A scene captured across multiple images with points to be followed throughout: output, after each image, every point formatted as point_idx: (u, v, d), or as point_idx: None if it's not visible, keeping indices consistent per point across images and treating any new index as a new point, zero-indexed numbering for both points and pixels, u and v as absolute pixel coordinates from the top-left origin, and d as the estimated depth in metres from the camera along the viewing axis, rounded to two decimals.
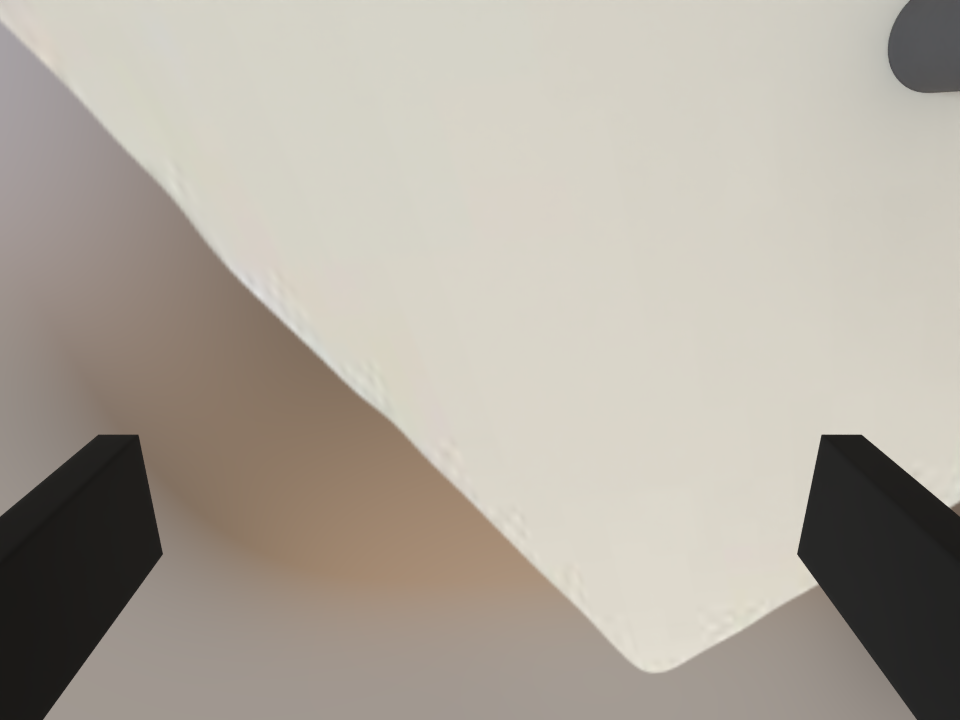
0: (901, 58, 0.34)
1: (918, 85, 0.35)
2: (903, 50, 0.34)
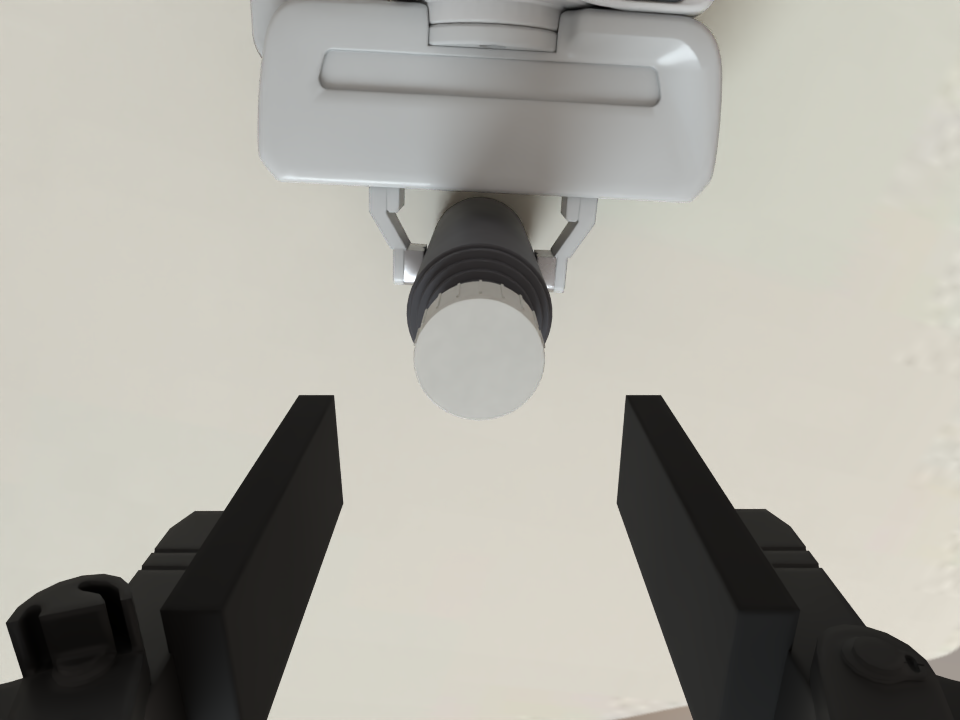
0: None
1: None
2: None
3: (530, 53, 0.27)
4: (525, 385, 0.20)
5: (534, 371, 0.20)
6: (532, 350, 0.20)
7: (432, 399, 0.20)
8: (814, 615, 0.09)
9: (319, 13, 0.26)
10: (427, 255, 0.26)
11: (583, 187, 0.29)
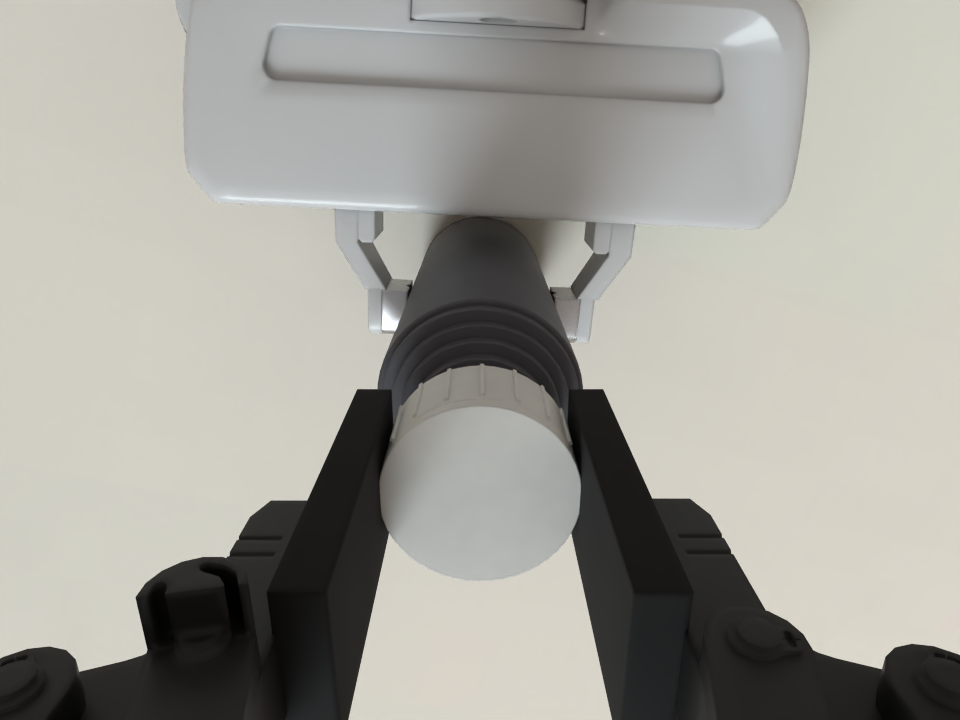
0: None
1: None
2: None
3: (548, 30, 0.20)
4: (551, 532, 0.13)
5: (565, 512, 0.13)
6: (563, 482, 0.13)
7: (408, 552, 0.13)
8: (717, 598, 0.09)
9: None
10: (408, 307, 0.19)
11: (617, 210, 0.22)
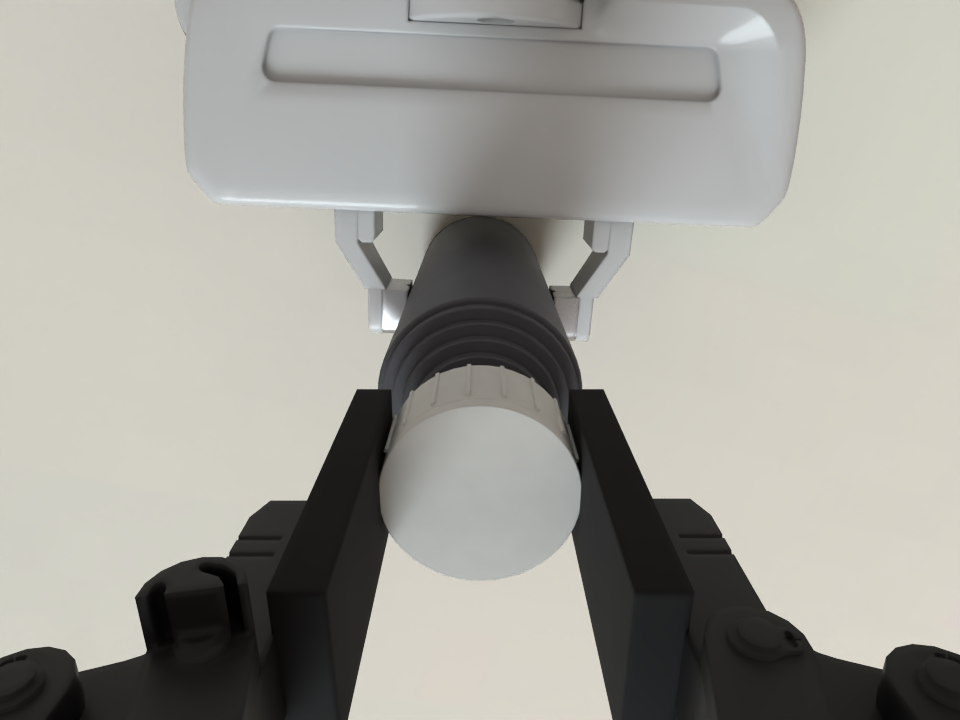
0: None
1: None
2: None
3: (546, 30, 0.20)
4: (497, 424, 0.12)
5: (469, 418, 0.12)
6: (436, 432, 0.12)
7: (562, 541, 0.13)
8: (717, 598, 0.09)
9: None
10: (408, 306, 0.19)
11: (616, 209, 0.22)
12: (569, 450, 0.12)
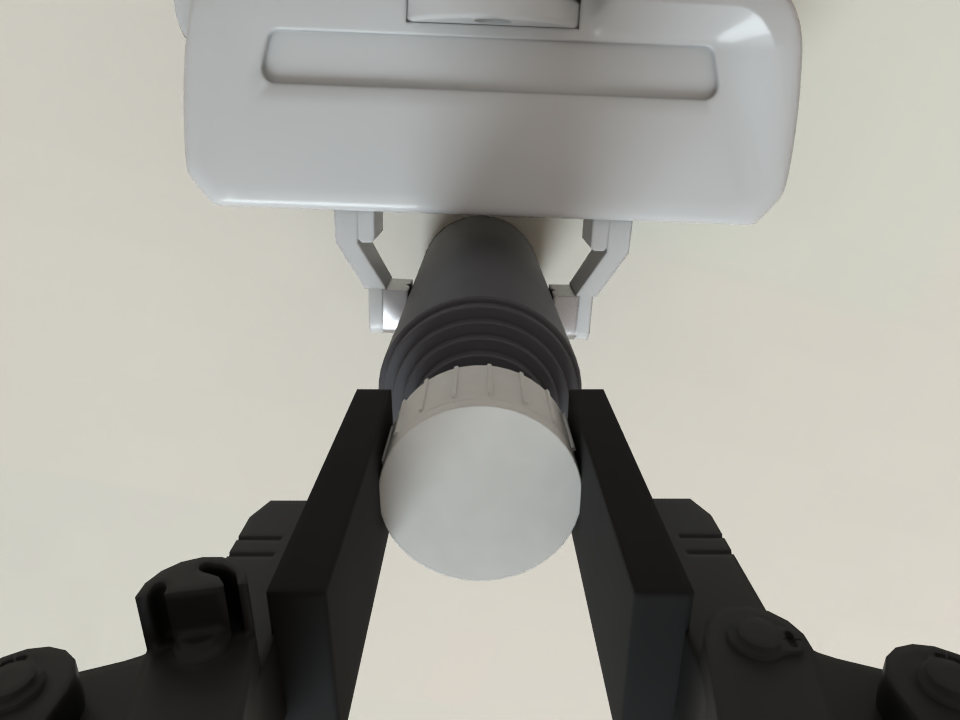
0: None
1: None
2: None
3: (543, 30, 0.20)
4: (397, 506, 0.13)
5: (401, 529, 0.13)
6: (425, 550, 0.13)
7: (504, 410, 0.12)
8: (718, 598, 0.09)
9: None
10: (408, 305, 0.19)
11: (614, 207, 0.22)
12: (400, 438, 0.12)
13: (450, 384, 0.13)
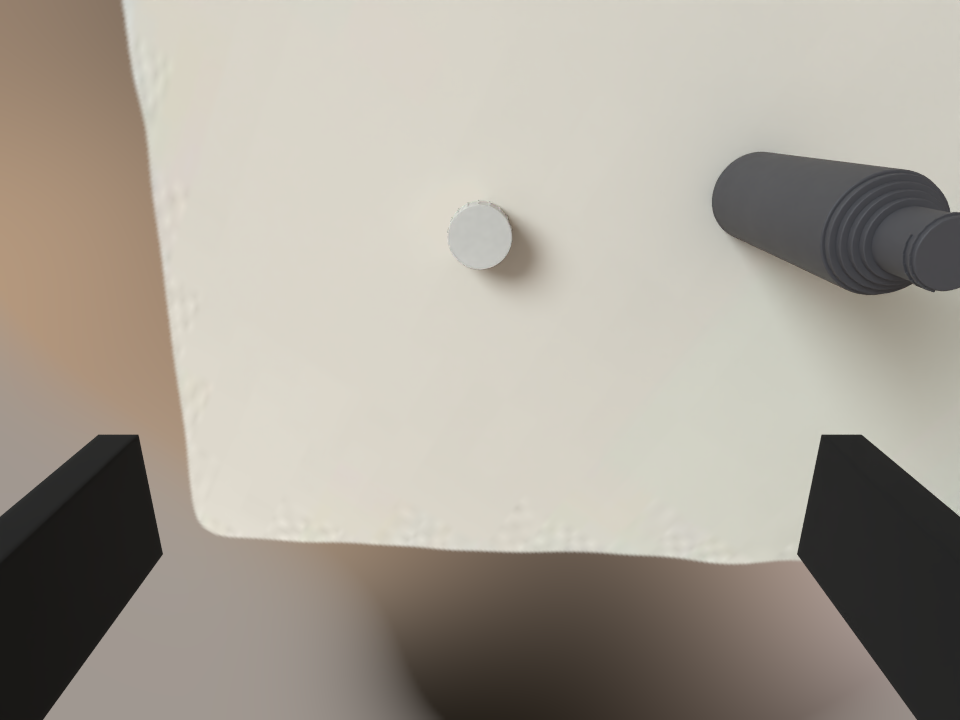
0: (722, 183, 0.40)
1: (719, 212, 0.41)
2: (727, 177, 0.40)
3: None
4: (490, 261, 0.41)
5: (498, 258, 0.41)
6: (504, 248, 0.40)
7: (448, 240, 0.40)
8: None
9: None
10: None
11: None
12: (467, 266, 0.41)
13: None
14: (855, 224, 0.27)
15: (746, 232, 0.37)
